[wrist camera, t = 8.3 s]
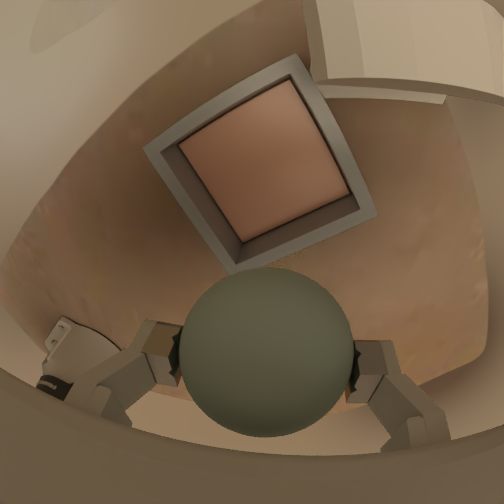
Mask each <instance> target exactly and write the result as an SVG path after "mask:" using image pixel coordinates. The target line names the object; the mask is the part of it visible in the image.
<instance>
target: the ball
mask: <svg viewBox="0 0 504 504" xmlns="http://www.w3.org/2000/svg"><path fill="white" fill-rule="evenodd" d="M353 359H354V346H353V337H352V333H351V329H350V325H349V322H348V320H347V318H346V316H345V314H344V312H343V310H342V308H341V307H340V305H339V304H338V302H337V301H336V300H335V299H334V297H333V296H332V295H331V294H330V293H329V292H328V291H327V290H326V289H325V288H323V287H322V286H321V285H319V284H318V283H317V282H315V281H314V280H312V279H310V278H308V277H307V276H304V275H302V274H299V273H297V272H294V271H290V270H286V269H280V268H268V267H266V268H254V269H248V270H244V271H241V272H237V273H235V274H233V275H230V276H228V277H226V278H224V279H222V280H221V281H219V282H217V283H216V284H215V285H213V286H212V287H211V288H210V289H208V290H207V291H206V292H205V293H204V294H203V295H202V296H201V297H200V298H199V300H198V301H197V302H196V303H195V305H194V306H193V308H192V309H191V311H190V313H189V315H188V317H187V318H186V321H185V324H184V327H183V330H182V333H181V338H180V345H179V362H180V369H181V373H182V377H183V380H184V383H185V385H186V387H187V390H188V392H189V393H190V395H191V397H192V398H193V400H194V401H195V403H196V404H197V405H198V406H199V408H200V409H201V410H202V411H203V412H204V413H205V414H206V415H207V416H208V417H210V418H211V419H212V420H214V421H215V422H217V423H218V424H220V425H221V426H223V427H225V428H227V429H230V430H232V431H234V432H237V433H240V434H243V435H247V436H253V437H277V436H284V435H288V434H292V433H295V432H297V431H300V430H302V429H304V428H307V427H308V426H310V425H312V424H313V423H315V422H317V421H318V420H319V419H321V418H322V417H323V416H324V415H325V414H326V413H327V412H329V411H330V410H331V409H332V408H333V406H334V405H335V404H336V402H337V401H338V400H339V398H340V397H341V395H342V394H343V392H344V390H345V388H346V386H347V383H348V381H349V378H350V375H351V371H352V366H353Z"/></svg>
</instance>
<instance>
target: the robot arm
mask: <svg viewBox="0 0 504 504" xmlns="http://www.w3.org/2000/svg"><path fill="white" fill-rule="evenodd" d="M183 327H184V326H181V325H175V324H170V323H165V322H159V321H153V320H148V319H146V320H145V321H144V322H143V323H142V325H141V327H140V329H139V330H138V332H137V334H136V336H135V338H134V339H133V341H132V343H131V345H130V347H129V348H128V349H124V350H122V351H120V350H119V349H118V348H117V347H116V346H115V345H114V344H112V343H111V342H110V341H109V340H107V339H106V338H105V337H103V336H102V335H100V334H98V333H97V332H95V331H93V330H91V329H89V328H86V327H83V326H80V325H77V324H75V323H74V322H72V321H70V320H69V319H67V318H65V317H61V318H60V319H59V321H58V322H57V324H56V325H55V327H54V328H53V330H52V331H51V333H50V334H49V336H48V337H47V339H46V341H45V346H46V347H47V349H48V350H49V352H50V353H49V354H48V355H47V357H46V359H45V360H44V361H43V363H42V368H43V376H41V378H40V380H39V382H38V383H37V385H36V388H35V387H33V386H31V385H29V384H27V383H26V382H24V381H22V380H20V379H19V378H17V377H15V376H13V375H12V374H10V373H8V372H7V371H5V370H4V369H2V368H0V504H504V425H501V426H498V427H495V428H492V429H489V430H486V431H483V432H480V433H476V434H473V435H469V436H466V437H462V438H458V439H454V440H451V437H450V432H449V428H448V424H447V421H446V416H445V412H444V411H443V410H442V409H441V408H440V407H439V406H438V405H437V404H436V403H435V402H434V401H433V400H432V399H431V398H430V397H428V395H427V394H425V393H424V392H423V391H422V390H421V389H420V388H419V387H418V386H417V385H416V384H415V383H414V382H413V381H412V380H411V379H410V378H409V377H408V376H407V375H406V374H402V373H401V369H400V366H399V362H398V359H397V355H396V352H395V348H394V345H393V342H392V341H391V340H353V346H354V359H353V366H352V371H351V375H350V378H349V381H348V383H347V386H346V388H345V397H346V403H368V406H369V407H370V408H371V410H372V411H373V412H374V414H375V415H376V417H377V418H378V419H379V421H380V422H381V423H382V425H383V426H384V427H385V429H386V430H387V432H388V433H389V434H390V436H391V438H390V439H389V440H388V441H387V442H386V444H384V445H383V446H382V448H381V452H380V453H370V454H357V455H336V456H300V455H278V454H264V453H255V452H245V451H237V450H230V449H223V448H217V447H211V446H205V445H200V444H195V443H190V442H186V441H181V440H176V439H172V438H168V437H164V436H160V435H156V434H153V433H149V432H146V431H142V430H139V429H136V428H132V427H131V426H132V422H131V420H130V419H129V417H128V416H127V415H126V413H125V410H126V409H128V408H129V407H130V406H131V405H133V404H134V403H135V402H136V401H137V400H139V399H140V398H141V397H142V396H143V395H145V394H146V393H147V392H148V391H149V390H151V389H152V388H153V387H154V386H155V385H156V383H157V384H162V385H167V386H173V387H178V384H179V381H180V378H181V376H182V373H181V369H180V362H179V345H180V338H181V333H182V330H183Z"/></svg>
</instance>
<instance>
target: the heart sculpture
mask: <svg viewBox="0 0 504 504" xmlns="http://www.w3.org/2000/svg"><path fill="white" fill-rule="evenodd" d="M302 8H303V13H304V19H305V25H306V31H307V38H308V44H309V51H310V58H311V65H310V73H311V76H312V79H313V82H314V83H315V84H316V86H317V88H318V89H319V91H320V92H321V93H322V95H323V96H324V98H376V99H395V100H408V101H419V102H428V103H437V104H443V102H444V100H445V98H446V95H449V96H456V97H462V98H468V99H474V100H479V101H484V102H489V103H494V104H498V105H502V106H504V18H503V17H502V16H501V15H500V14H499V13H498V12H497V11H496V10H495V9H494V8H493V7H492V6H491V5H489V4H488V3H486V2H485V1H483V0H304V2H303V3H302Z"/></svg>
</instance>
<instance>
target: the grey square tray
mask: <svg viewBox="0 0 504 504" xmlns="http://www.w3.org/2000/svg"><path fill="white" fill-rule="evenodd" d="M289 77H291V79H292V81H293V82H294V84H295V85H296V87H297V89H298V90H299V92H300V94H301V96H302V97H303V99H304V101H305V102H306V104H307V106H308V108H309V109H310V111H311V113H312V115H313V117H314V118H315V120H316V122H317V124H318V126H319V128H320V129H321V131H322V133H323V135H324V137H325V139H326V141H327V143H328V145H329V147H330V149H331V151H332V153H333V155H334V157H335V159H336V161H337V163H338V165H339V167H340V169H341V171H342V173H343V175H344V177H345V179H346V182H347V184H348V186H349V188H350V190H351V194H349V191H348V189H347V186H346V184H345V182H344V180H343V178H342V176H341V174H340V171H339V169H338V167H337V165H336V163H335V161H334V159H333V157H332V155H331V153H330V151H329V149H328V147H327V145H326V143H325V142H324V140H323V138H322V136H321V134H320V132H319V130H318V128H317V126H316V125H315V123H314V121H313V119H312V117H311V116H310V114H309V112H308V110H307V108H306V107H305V105H304V103H303V102H302V100H301V98H300V96H299V95H298V93H297V91H296V90H295V88H294V86H293V85H292V83H291V81H290V80H288V81H286V82H284V83H282V84H280V85H278V86H276V87H274V88H272V89H270V90H268V91H266V92H264V93H262V94H261V95H259V96H257V97H255V98H253V99H251V100H250V101H248V102H246V103H244V104H243V105H241V106H239V107H237V108H236V109H234V110H232V111H231V112H229V113H227V114H226V115H224V116H222V117H221V118H219V119H217V120H216V121H214V122H213V123H211V124H209V125H208V126H206V127H205V128H203V129H202V130H200V131H198V132H197V133H195V134H194V135H192V136H191V137H189V138H188V139H186V140H185V141H183V142H182V143H180V144H179V146H180V148H181V149H182V151H183V152H184V154H185V155H186V157H187V158H188V160H189V161H190V163H191V164H190V163H189V161H188V160H187V158H186V157H185V155H184V154H183V152H182V151H181V149H180V148H179V146H178V144H177V143H179V142H180V141H182V140H183V139H185V138H186V137H187V136H189V135H190V134H192V133H193V132H195V131H197V130H198V129H200V128H201V127H203V126H204V125H206V124H207V123H209V122H211V121H212V120H214V119H215V118H217V117H219V116H220V115H222V114H223V113H225V112H227V111H228V110H230V109H232V108H234V107H235V106H237V105H239V104H240V103H242V102H244V101H246V100H247V99H249V98H251V97H253V96H255V95H256V94H258V93H260V92H262V91H264V90H266V89H268V88H269V87H271V86H273V85H275V84H277V83H279V82H281V81H283V80H285V79H287V78H289ZM142 150H143V151H144V153H145V154H146V156H147V157H148V159H149V160H150V162H151V163H152V165H153V166H154V168H155V169H156V171H157V172H158V174H159V175H160V177H161V178H162V180H163V181H164V183H165V184H166V186H167V187H168V189H169V190H170V191H171V193H172V194H173V196H174V197H175V199H176V200H177V202H178V203H179V205H180V206H181V208H182V209H183V210H184V212H185V213H186V215H187V216H188V218H189V219H190V221H191V222H192V224H193V225H194V226H195V228H196V229H197V231H198V232H199V234H200V235H201V236H202V238H203V239H204V241H205V242H206V243H207V245H208V246H209V248H210V249H211V251H212V252H213V253H214V255H215V256H216V258H217V259H218V260H219V262H220V263H221V265H222V266H223V267H224V269H225V270H226V272H227V273H228V274H229V276H230V275H233V274H235V273H237V272H241V271H244V270H248V269H254V268H260V267H262V266H265V265H267V264H269V263H272V262H274V261H276V260H279V259H281V258H283V257H286V256H288V255H290V254H293V253H295V252H297V251H300V250H302V249H304V248H306V247H309V246H311V245H313V244H316V243H318V242H320V241H323V240H325V239H327V238H329V237H332V236H334V235H336V234H338V233H341V232H343V231H345V230H348V229H350V228H352V227H354V226H357V225H359V224H361V223H363V222H366V221H368V220H370V219H372V218H375V217H377V216H378V213H377V211H376V208H375V206H374V203H373V201H372V198H371V196H370V193H369V191H368V188H367V186H366V184H365V181H364V179H363V177H362V174H361V172H360V170H359V168H358V165H357V163H356V161H355V159H354V157H353V155H352V152H351V150H350V148H349V146H348V144H347V142H346V140H345V138H344V136H343V134H342V132H341V130H340V128H339V126H338V124H337V122H336V120H335V118H334V116H333V115H332V113H331V111H330V109H329V107H328V105H327V103H326V102H325V100H324V98H323V96H322V95H321V93H320V91H319V89H318V88H317V86H316V84H315V83H314V82H313V79H312V77H311V76H310V74H309V72H308V71H307V69H306V67H305V66H304V64H303V63H302V61H301V59H300V58H299V56H298V55H297V53H295V54H293V55H290V56H288V57H286V58H284V59H282V60H280V61H278V62H276V63H274V64H272V65H270V66H268V67H266V68H265V69H263V70H261V71H259V72H257V73H255V74H253V75H252V76H250V77H248V78H246V79H244V80H243V81H241V82H239V83H237V84H236V85H234V86H232V87H231V88H229V89H227V90H226V91H224V92H222V93H221V94H219V95H217V96H216V97H214V98H213V99H211V100H209V101H208V102H206V103H205V104H203V105H202V106H200V107H199V108H197V109H196V110H194V111H193V112H191V113H190V114H188V115H187V116H185V117H184V118H182V119H181V120H180V121H178V122H177V123H175V124H174V125H172V126H171V127H170V128H168V129H167V130H166V131H164V132H163V133H162V134H160V135H159V136H158V137H156V138H155V139H154V140H152V141H151V142H150V143H148V144H147V145H146V146H144V147H143V148H142ZM191 165H192V166H193V167H192V166H191ZM193 168H194V169H195V170H194V169H193ZM195 171H196V172H197V173H196V172H195ZM197 174H198V175H199V177H200V178H201V180H202V181H203V183H204V184H205V186H206V187H207V189H208V190H209V192H210V193H209V192H208V190H207V189H206V187H205V186H204V184H203V183H202V181H201V180H200V178H199V177H198V175H197ZM210 194H211V195H212V196H211V195H210ZM347 194H349V195H347ZM345 195H347V196H345ZM343 196H345V197H343ZM212 197H213V198H214V199H213V198H212ZM341 197H343V198H341ZM338 198H340V199H338ZM336 199H338V200H336ZM214 200H215V201H216V202H215V201H214ZM334 200H336V201H334ZM332 201H334V202H332ZM330 202H332V203H330ZM216 203H217V204H218V205H217V204H216ZM327 203H329V204H327ZM325 204H327V205H325ZM323 205H325V206H323ZM218 206H219V207H220V208H219V207H218ZM321 206H323V207H321ZM319 207H321V208H319ZM317 208H319V209H317ZM220 209H221V210H222V212H223V213H224V215H225V216H226V218H227V219H228V221H229V222H230V224H231V225H232V227H233V228H232V227H231V225H230V224H229V222H228V221H227V219H226V218H225V216H224V215H223V213H222V212H221V210H220ZM314 209H316V210H314ZM312 210H314V211H312ZM310 211H312V212H310ZM308 212H310V213H308ZM306 213H308V214H306ZM304 214H305V215H304ZM301 215H303V216H301ZM299 216H301V217H299ZM297 217H299V218H297ZM295 218H297V219H295ZM293 219H295V220H293ZM291 220H292V221H291ZM288 221H290V222H288ZM286 222H288V223H286ZM284 223H286V224H284ZM282 224H284V225H282ZM280 225H282V226H280ZM278 226H280V227H278ZM276 227H277V228H276ZM273 228H275V229H273ZM233 229H234V230H235V231H234V230H233ZM271 229H273V230H271ZM269 230H271V231H269ZM267 231H269V232H267ZM235 232H236V233H237V234H236V233H235ZM265 232H267V233H265ZM263 233H264V234H263ZM261 234H262V235H261ZM237 235H238V236H239V237H238V236H237ZM258 235H260V236H258ZM256 236H258V237H256ZM254 237H256V238H254ZM239 238H240V239H241V240H240V239H239ZM252 238H254V239H252ZM250 239H252V240H250ZM248 240H250V241H248ZM241 241H242V242H245V243H242V242H241ZM246 241H247V242H246Z"/></svg>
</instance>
